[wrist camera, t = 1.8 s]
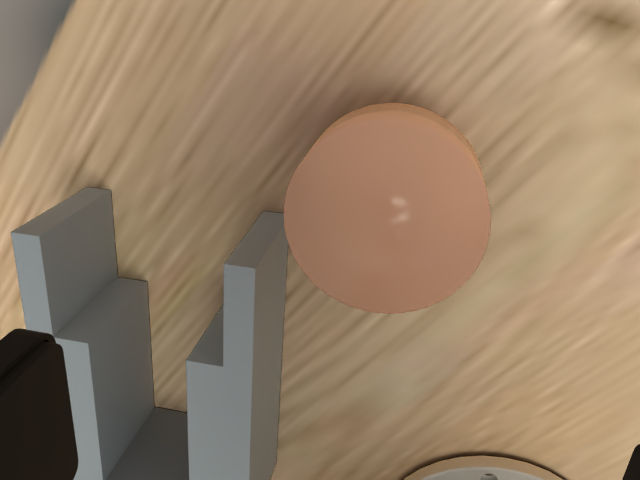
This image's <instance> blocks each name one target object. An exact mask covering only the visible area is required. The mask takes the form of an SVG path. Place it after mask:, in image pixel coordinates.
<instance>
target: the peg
mask: <svg viewBox="0 0 640 480" xmlns="http://www.w3.org/2000/svg"><path fill="white" fill-rule="evenodd" d="M490 226H491V213H490V205H489V200H488V195H487V191H486V186H485V182H484V178H483V173H482V169H481V166H480V163H479V160H478V157H477V155H476V153H475V151H474V150H473V148H472V146H471V144H470V143H469V142H468V140H467V139H466V138H465V136H464V135H463V134H462V133H461V132H460V131H459V130H458V129H457V128H456V127H455V126H454V125H453V124H451V123H450V122H449V121H447V120H446V119H445V118H443V117H441V116H440V115H438V114H436V113H434V112H432V111H429V110H427V109H425V108H422V107H418V106H414V105H411V104H403V103H381V104H373V105H369V106H366V107H362V108H359V109H357V110H355V111H352V112H350V113H348V114H346V115H345V116H343V117H341V118H339V119H338V120H337V121H336V122H334V123H333V124H332V125H330V126H329V127H328V128H327V129H326V130H325V131H324V133H323V134H322V135H321V136H320V137H319V139H318V140H317V141H316V143H315V144H314V145H313V147H312V148H311V149H310V151H309V152H308V153H307V155H306V156H305V157H304V159H303V160H302V161H301V163H300V164H299V165H298V167H297V169H296V170H295V172H294V174H293V176H292V178H291V180H290V183H289V186H288V189H287V192H286V197H285V202H284V227H285V232H286V237H287V241H288V244H289V246H290V249H291V252H292V254H293V256H294V258H295V260H296V261H297V263H298V264H299V266H300V267H301V269H302V271H303V272H304V273H305V274H306V275H307V276H308V278H309V279H310V280H311V281H312V282H313V283H314V284H315V285H316V286H317V287H319V288H320V289H321V290H322V291H324V292H325V293H326V294H328V295H329V296H331V297H333V298H334V299H336V300H338V301H340V302H342V303H344V304H346V305H349V306H351V307H354V308H357V309H361V310H364V311H370V312H375V313H389V314H390V313H405V312H410V311H416V310H419V309H422V308H426V307H429V306H431V305H433V304H436V303H438V302H440V301H442V300H443V299H445V298H447V297H448V296H450V295H451V294H453V293H454V292H455V291H456V290H458V289H459V288H460V287H461V286H462V285H463V284H464V283H465V282H466V281H467V280H468V279H469V278H470V277H471V275H472V274H473V273H474V271H475V270H476V268H477V267H478V265H479V263H480V261H481V260H482V258H483V255H484V253H485V250H486V247H487V244H488V240H489V235H490Z"/></svg>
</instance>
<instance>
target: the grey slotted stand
mask: <svg viewBox="0 0 640 480" xmlns="http://www.w3.org/2000/svg"><path fill="white" fill-rule="evenodd" d="M11 237H12V243H13V249H14V256H15V262H16V268H17V274H18V281H19V287H20V293H21V300H22V306H23V312H24V319H25V325H26V330H32V331H38V332H43V333H49V334H51V335H52V336H53V337H54V338H55V341H56V343H57V344H60V345H61V346H62V348H63V352H64V359H65V366H66V373H67V381H68V388H69V395H70V402H71V409H72V417H73V424H74V431H75V438H76V445H77V453H78V469H77V472H76V475H75V477H74V479H73V480H271V477H272V474H273V471H274V468H275V465H276V460H277V441H278V422H279V403H280V385H281V366H282V347H283V329H284V310H285V291H286V272H287V254H288V241H287V237H286V232H285V227H284V214H283V213H275V212H268V211H263V212H262V214H261V215H260V216H259V218H258V219H257V220H256V222H255V223H254V224H253V226H252V227H251V228H250V230H249V231H248V232H247V234H246V235H245V236H244V238H243V239H242V240H241V242H240V243H239V244H238V246H237V247H236V248H235V250H234V251H233V252H232V254H231V255H230V256H229V258H228V259H227V260H226V262H225V263H224V304H223V305H222V307H221V308H220V310H219V311H218V313H217V314H216V316H215V317H214V319H213V320H212V322H211V323H210V325H209V326H208V328H207V329H206V331H205V332H204V334H203V335H202V337H201V338H200V340H199V342H198V343H197V345H196V346H195V348H194V349H193V351H192V352H191V354H190V355H189V357H188V358H187V360H186V380H187V413H185V412H179V411H174V410H169V409H163V408H158V407H154V390H153V372H152V354H151V337H150V319H149V301H148V284H147V282H145V281H139V280H133V279H126V278H120V277H118V273H117V260H116V248H115V235H114V222H113V210H112V197H111V190H106V189H98V188H91V187H86V188H85V189H83V190H81V191H80V192H78V193H76V194H74V195H73V196H71V197H69V198H68V199H66V200H64V201H63V202H61V203H59V204H58V205H56V206H54V207H53V208H51V209H49V210H47V211H46V212H44V213H42V214H41V215H39V216H37V217H36V218H34V219H32V220H31V221H29V222H27V223H25V224H24V225H22V226H20V227H19V228H17V229H15V230H14V231H12V232H11Z"/></svg>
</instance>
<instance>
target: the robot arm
mask: <svg viewBox="0 0 640 480" xmlns="http://www.w3.org/2000/svg"><path fill="white" fill-rule="evenodd" d="M77 469H78V453H77V445H76V438H75V431H74V424H73V417H72V409H71V402H70V395H69V388H68V381H67V373H66V366H65V359H64V352H63V348H62V346H61V345H60V344H57V343H56V341H55V338H54V337H53V336H52V335H51V334H49V333H43V332H38V331H32V330H26V329H14V330H13V331H11V332H10V333H8V334H7V335H6V336H5V337H4V338H3V339H1V340H0V480H73V479H74V477H75V475H76V472H77ZM404 480H563V479H561V478H560V477H558V476H556V475H555V474H553V473H551V472H549V471H547V470H545V469H542V468H540V467H537V466H535V465H532V464H529V463H526V462H522V461H518V460H513V459H509V458H504V457H492V456H467V457H457V458H452V459H448V460H443V461H439V462H436V463H433V464H431V465H428V466H426V467H423V468H421V469H419V470H417V471H416V472H414V473H413V474H411V475H409V476H408V477H406V478H405V479H404ZM622 480H640V444H639V445H637V446H636V447H635V449H634V451H633V454H632V456H631V459H630V461H629V464H628V466H627V469H626V472H625V474H624V477H623V479H622Z"/></svg>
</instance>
